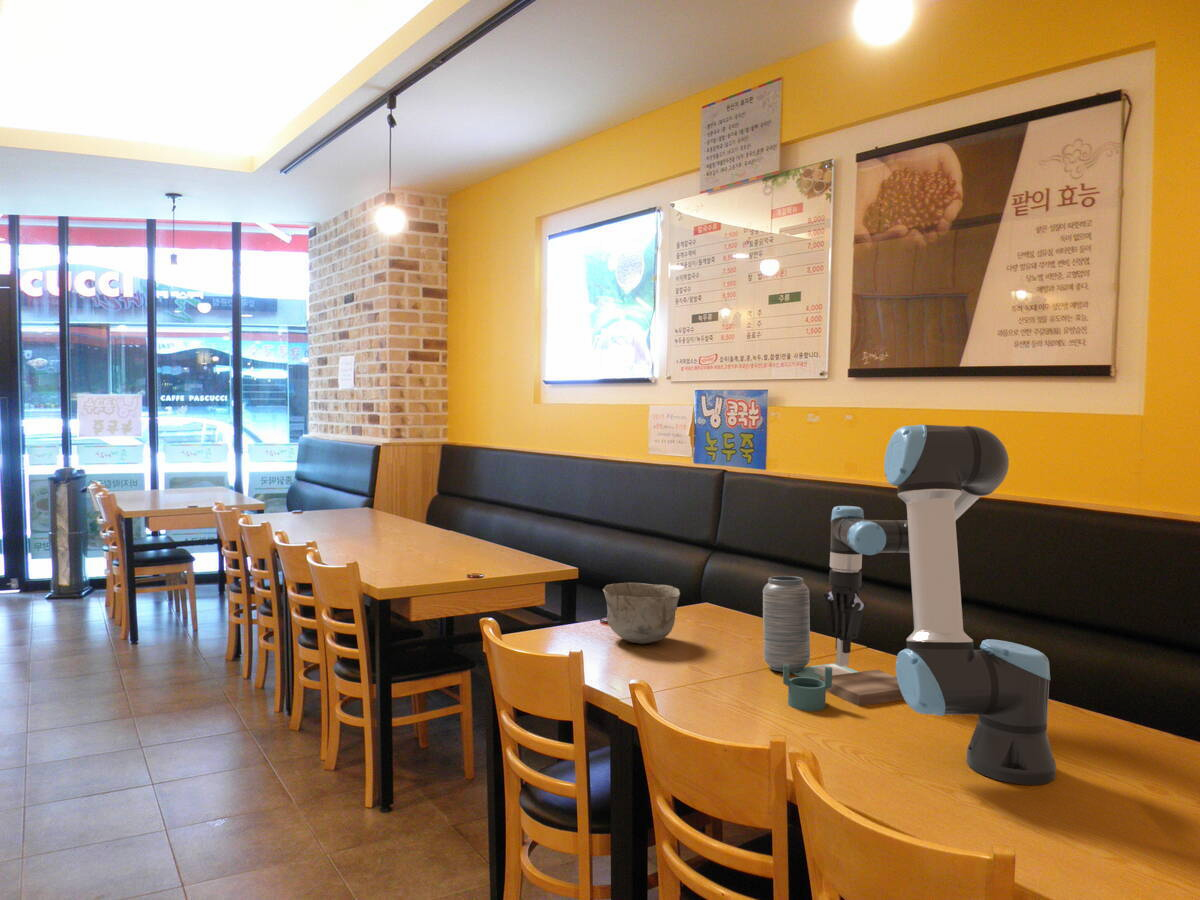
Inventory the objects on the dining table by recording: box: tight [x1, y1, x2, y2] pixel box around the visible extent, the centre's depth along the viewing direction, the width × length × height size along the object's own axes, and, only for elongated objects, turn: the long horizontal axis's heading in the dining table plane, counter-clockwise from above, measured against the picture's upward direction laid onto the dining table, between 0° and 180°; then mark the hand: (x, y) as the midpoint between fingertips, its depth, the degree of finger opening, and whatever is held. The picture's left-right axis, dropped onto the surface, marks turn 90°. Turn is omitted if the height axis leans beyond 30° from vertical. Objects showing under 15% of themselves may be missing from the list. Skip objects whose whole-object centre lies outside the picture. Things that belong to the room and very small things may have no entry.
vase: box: [762, 575, 811, 673], centre depth 225 cm, size 12×12×23 cm
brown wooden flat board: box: [819, 669, 905, 707], centre depth 207 cm, size 14×18×2 cm
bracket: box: [782, 664, 832, 712], centre depth 198 cm, size 9×9×9 cm
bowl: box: [602, 582, 681, 645], centre depth 249 cm, size 22×22×15 cm
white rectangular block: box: [814, 663, 854, 677], centre depth 218 cm, size 9×6×2 cm, turn 24°
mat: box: [789, 662, 859, 679], centre depth 220 cm, size 14×16×1 cm
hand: (842, 664), depth 216 cm, fingers closed
